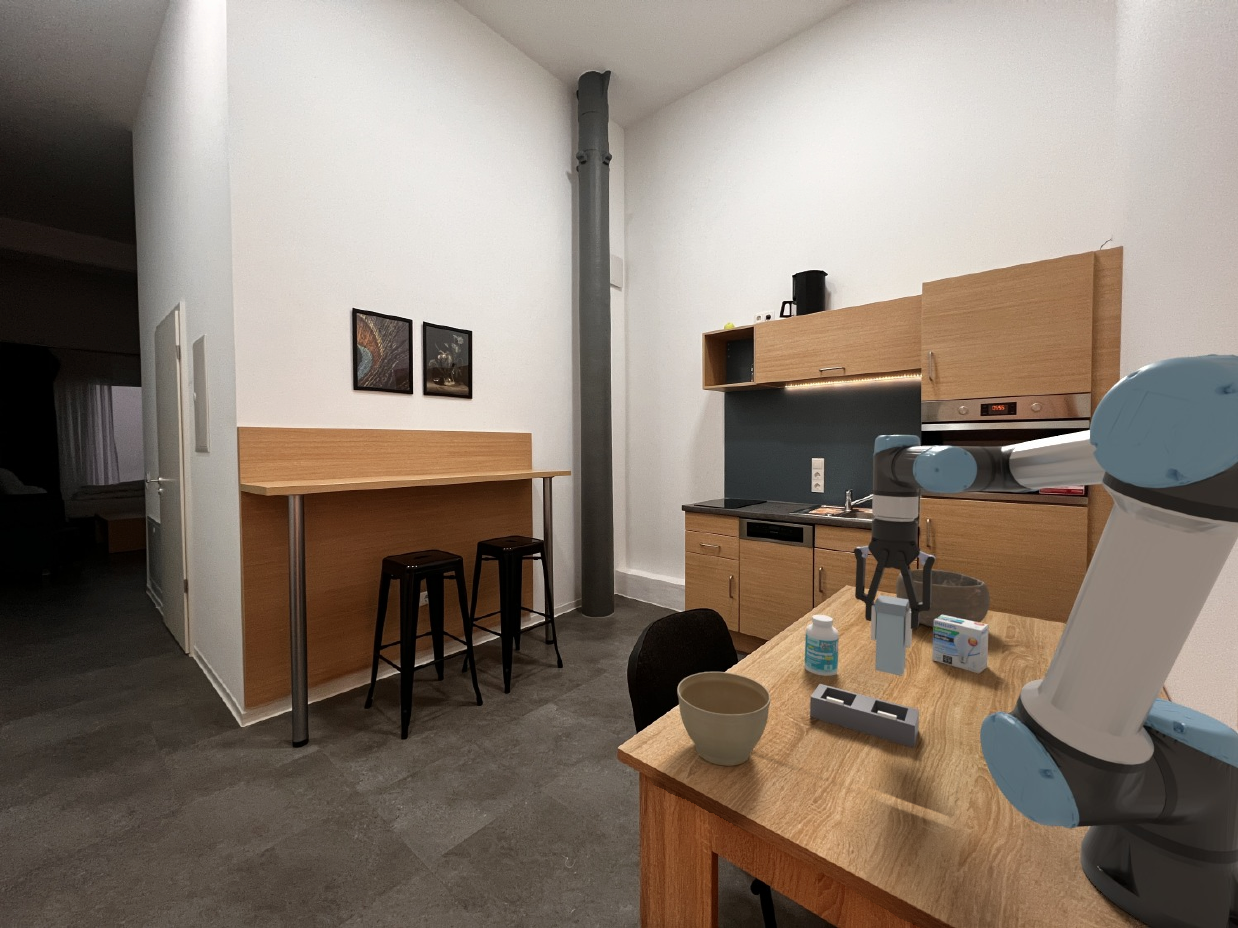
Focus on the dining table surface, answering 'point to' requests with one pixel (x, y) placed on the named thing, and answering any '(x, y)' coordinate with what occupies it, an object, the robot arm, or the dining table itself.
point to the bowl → (949, 596)
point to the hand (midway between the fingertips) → (891, 641)
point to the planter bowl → (723, 715)
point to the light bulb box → (960, 643)
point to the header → (865, 714)
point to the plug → (891, 634)
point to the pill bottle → (821, 646)
